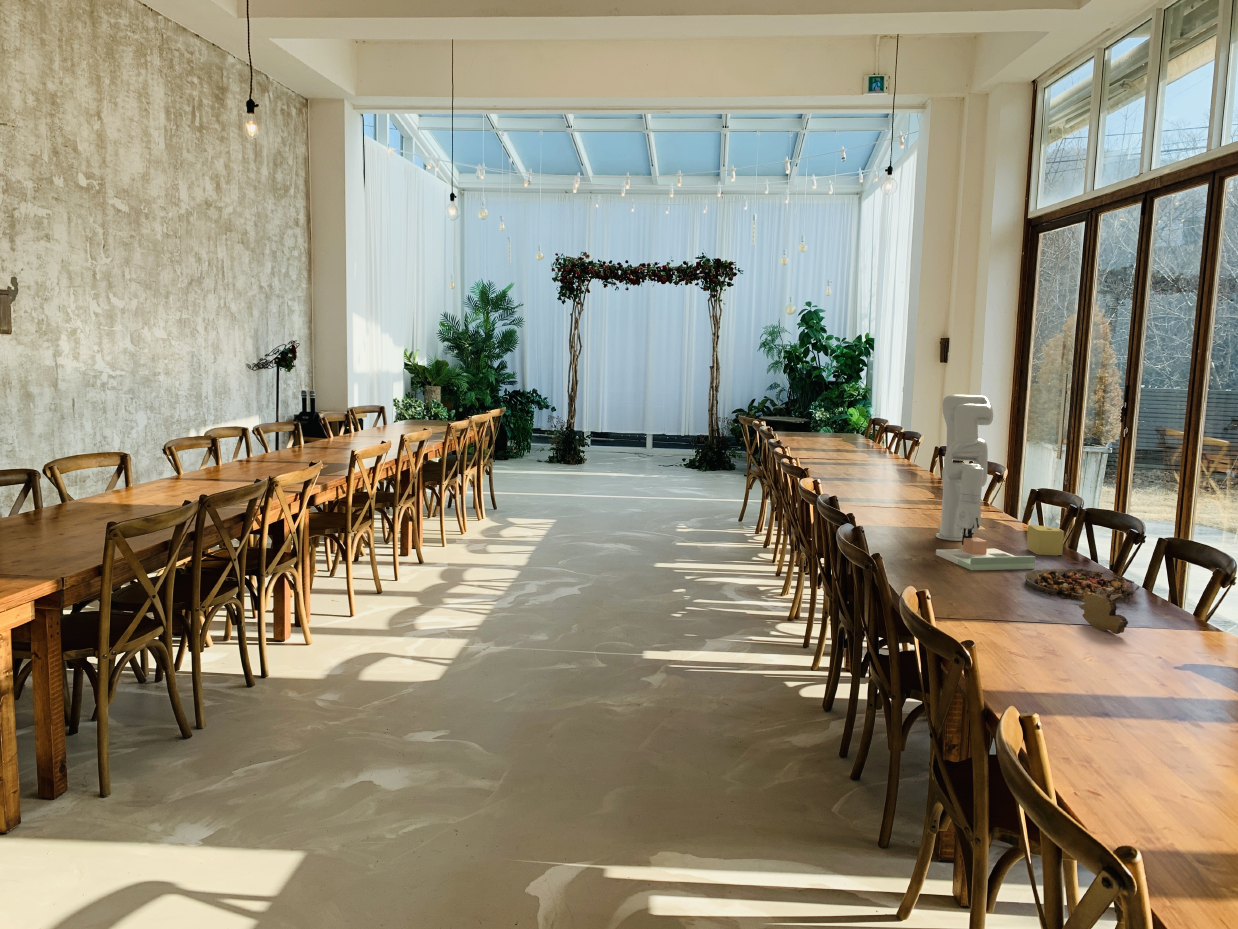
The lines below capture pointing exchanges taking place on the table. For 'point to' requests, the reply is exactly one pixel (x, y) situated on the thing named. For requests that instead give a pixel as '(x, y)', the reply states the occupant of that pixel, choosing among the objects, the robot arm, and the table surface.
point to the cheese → (1045, 540)
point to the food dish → (1078, 584)
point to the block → (975, 546)
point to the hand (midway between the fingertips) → (966, 545)
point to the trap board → (987, 559)
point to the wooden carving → (1103, 614)
